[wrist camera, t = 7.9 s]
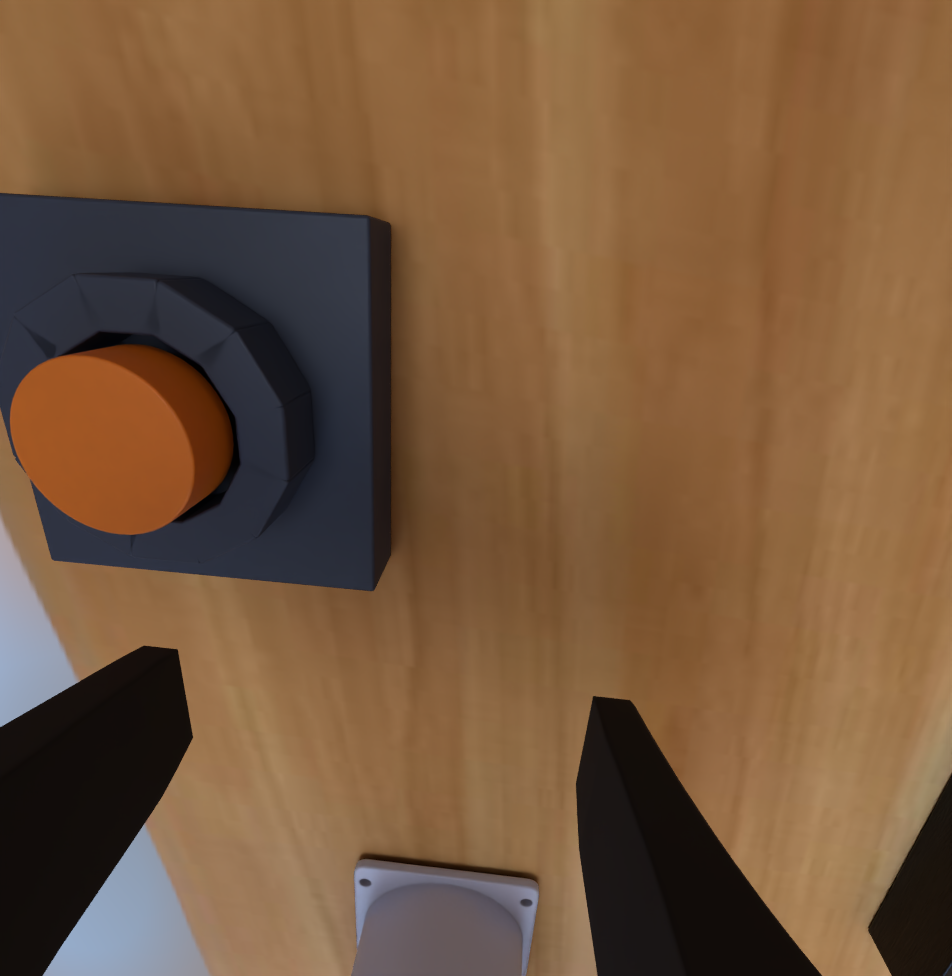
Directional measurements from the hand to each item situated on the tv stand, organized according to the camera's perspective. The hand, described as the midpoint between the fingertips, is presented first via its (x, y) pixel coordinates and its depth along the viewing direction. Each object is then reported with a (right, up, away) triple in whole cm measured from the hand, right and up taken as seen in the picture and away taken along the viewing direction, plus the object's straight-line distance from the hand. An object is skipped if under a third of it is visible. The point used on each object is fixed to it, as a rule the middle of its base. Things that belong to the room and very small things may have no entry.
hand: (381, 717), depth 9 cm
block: (-6, +7, +7) cm, 11 cm away
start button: (-6, +5, +4) cm, 9 cm away
